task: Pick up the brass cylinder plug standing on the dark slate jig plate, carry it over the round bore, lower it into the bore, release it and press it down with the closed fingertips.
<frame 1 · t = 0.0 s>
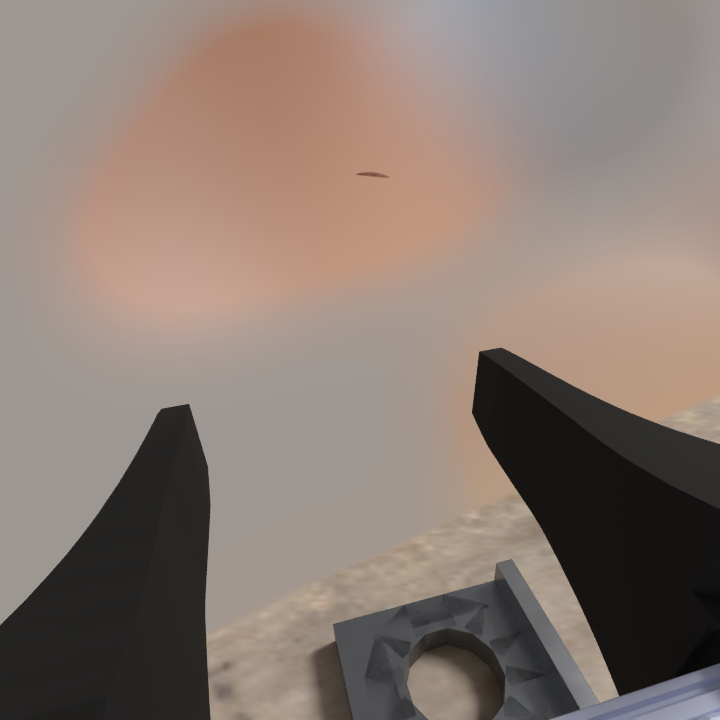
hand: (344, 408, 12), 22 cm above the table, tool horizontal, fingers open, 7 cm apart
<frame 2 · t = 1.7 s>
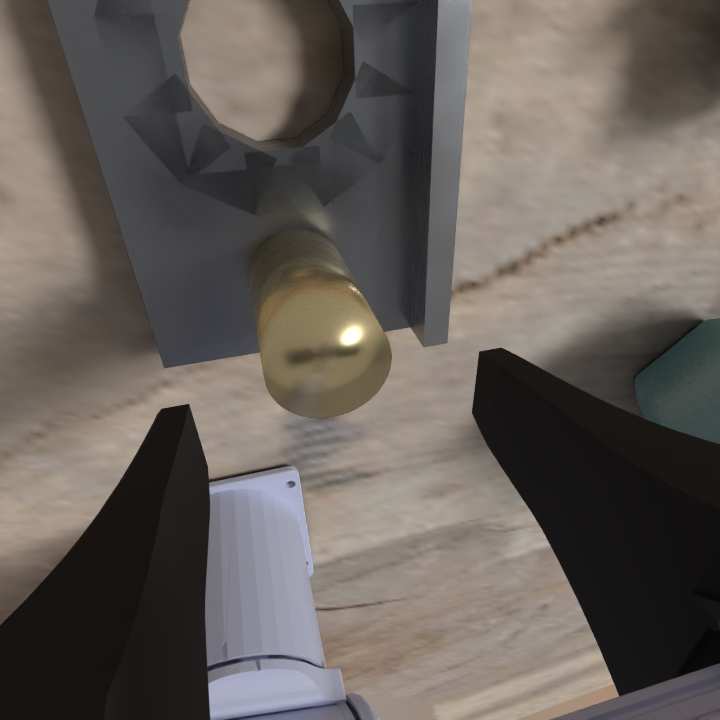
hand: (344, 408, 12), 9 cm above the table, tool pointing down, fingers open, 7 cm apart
jig: (278, 154, 18), on the table
brass cylinder plug: (297, 277, 19), point 2 cm above the table, touching jig
flower pot: (677, 366, 30), on the table
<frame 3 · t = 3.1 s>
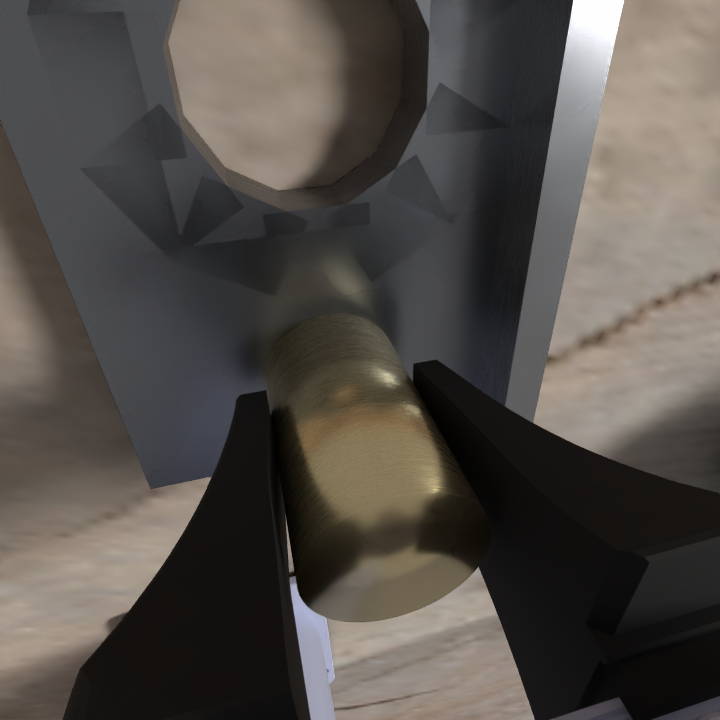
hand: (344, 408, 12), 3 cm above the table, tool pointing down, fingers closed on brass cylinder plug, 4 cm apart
jig: (307, 208, 13), on the table
brass cylinder plug: (331, 371, 14), point 2 cm above the table, touching gripper, jig
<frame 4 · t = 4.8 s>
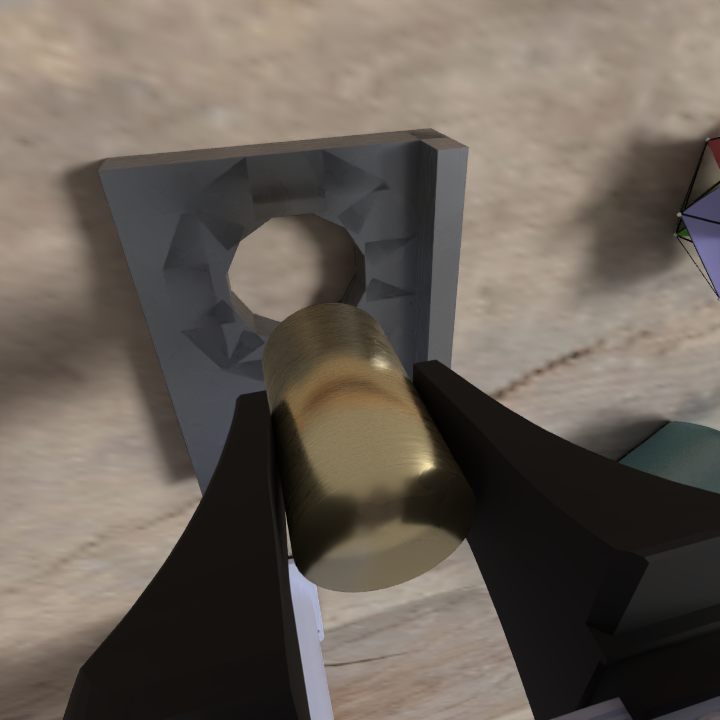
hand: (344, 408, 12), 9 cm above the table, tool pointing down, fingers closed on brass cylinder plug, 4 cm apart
jig: (301, 331, 21), on the table
brass cylinder plug: (326, 359, 14), point 7 cm above the table, touching gripper
flower pot: (649, 455, 34), on the table
geometric puzzle: (708, 185, 23), on the table
when the fingers open (2 cm above the table, at t = 6.6 s): brass cylinder plug stays where it is, resting in jig.
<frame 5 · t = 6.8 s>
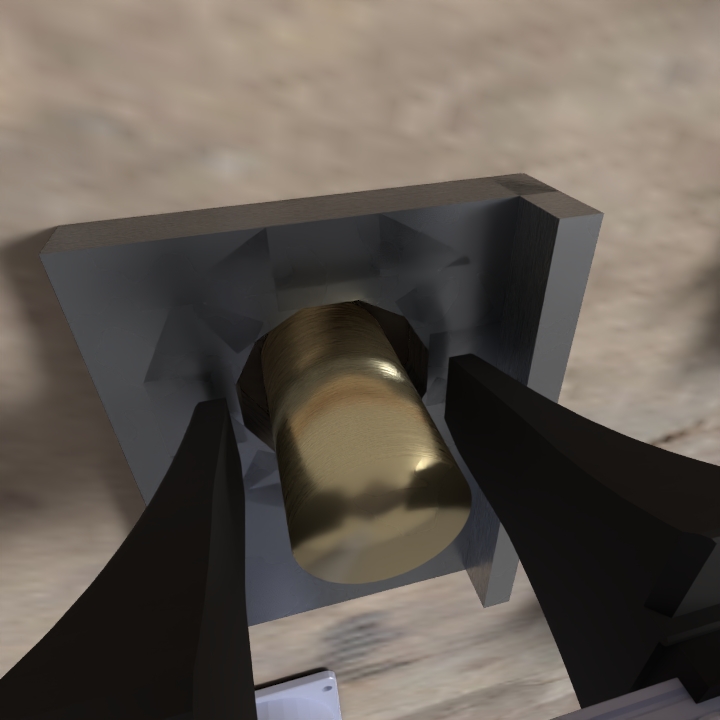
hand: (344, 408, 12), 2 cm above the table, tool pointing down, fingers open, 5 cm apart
jig: (332, 432, 16), on the table
brass cylinder plug: (324, 355, 14), resting in jig
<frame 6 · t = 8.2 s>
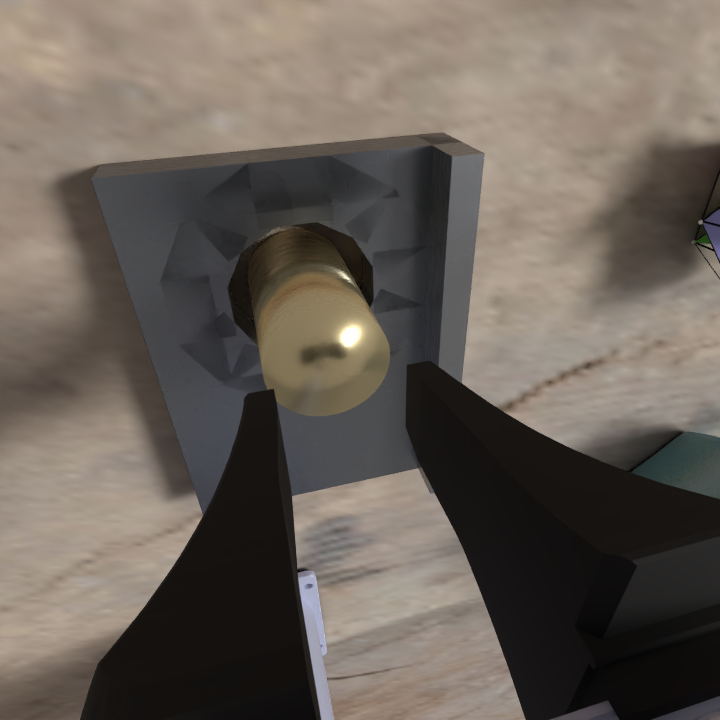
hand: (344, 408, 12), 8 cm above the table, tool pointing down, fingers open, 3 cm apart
jig: (305, 343, 21), on the table
brass cylinder plug: (296, 276, 19), resting in jig
flower pot: (661, 466, 33), on the table
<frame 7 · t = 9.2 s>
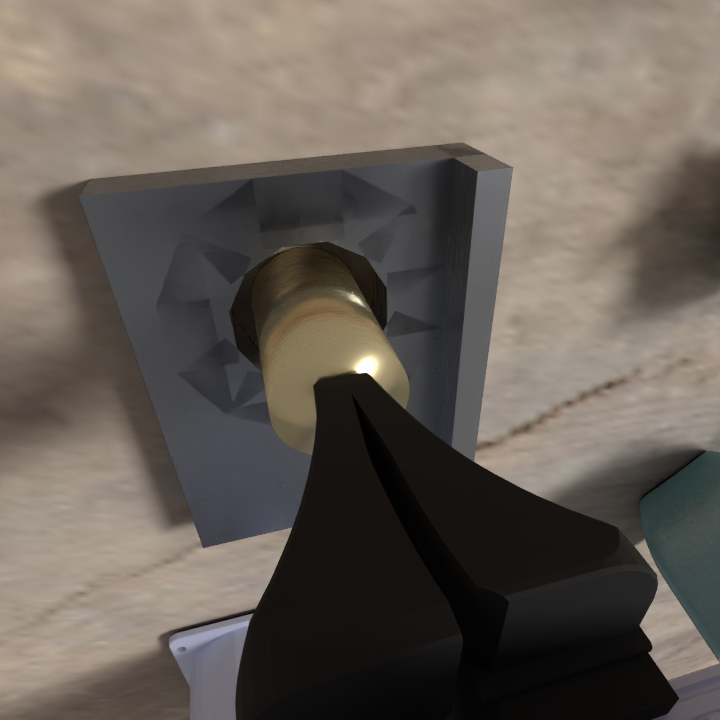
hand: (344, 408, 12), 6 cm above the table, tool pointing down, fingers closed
jig: (312, 366, 19), on the table
brass cylinder plug: (304, 296, 17), resting in jig
flower pot: (680, 485, 31), on the table
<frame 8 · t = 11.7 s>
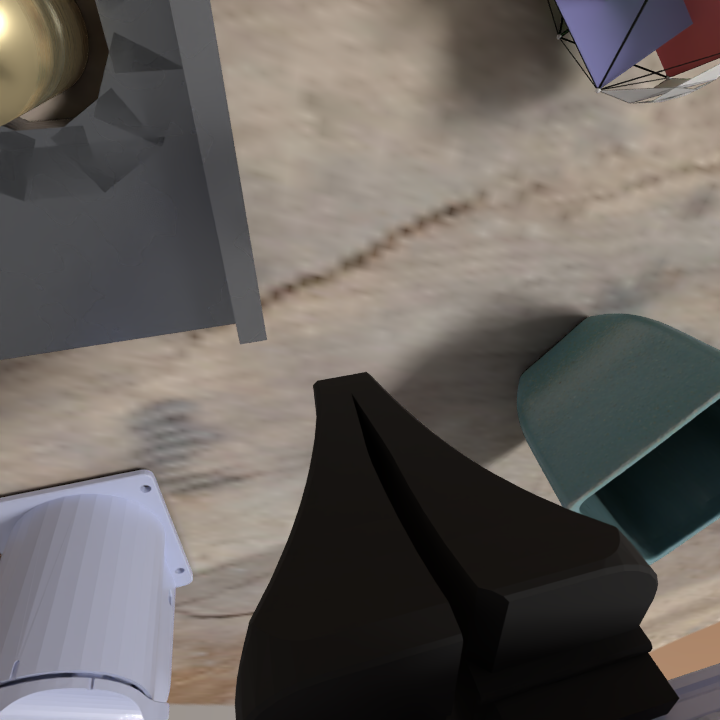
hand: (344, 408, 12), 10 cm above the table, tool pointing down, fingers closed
jig: (58, 136, 17), on the table
brass cylinder plug: (20, 28, 15), resting in jig
flower pot: (569, 364, 29), on the table
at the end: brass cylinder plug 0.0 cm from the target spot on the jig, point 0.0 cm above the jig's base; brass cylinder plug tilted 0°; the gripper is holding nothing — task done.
